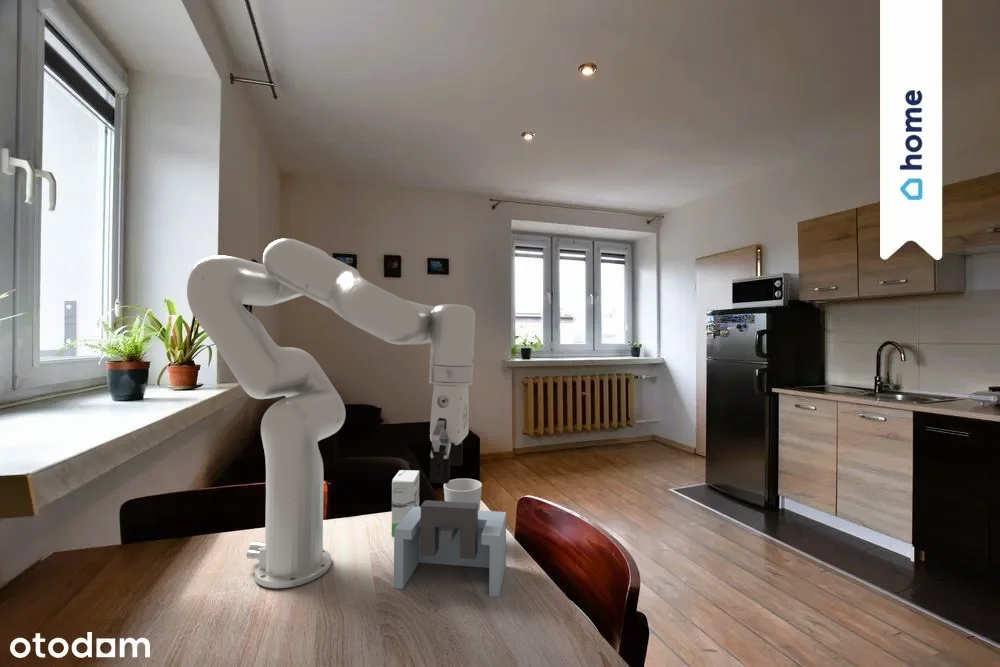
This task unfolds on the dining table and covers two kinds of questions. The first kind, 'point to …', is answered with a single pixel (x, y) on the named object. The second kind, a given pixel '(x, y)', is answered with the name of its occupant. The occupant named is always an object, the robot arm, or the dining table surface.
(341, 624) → the dining table surface
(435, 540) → the grey arch block
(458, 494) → the cup
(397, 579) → the shelf
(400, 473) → the ink box
